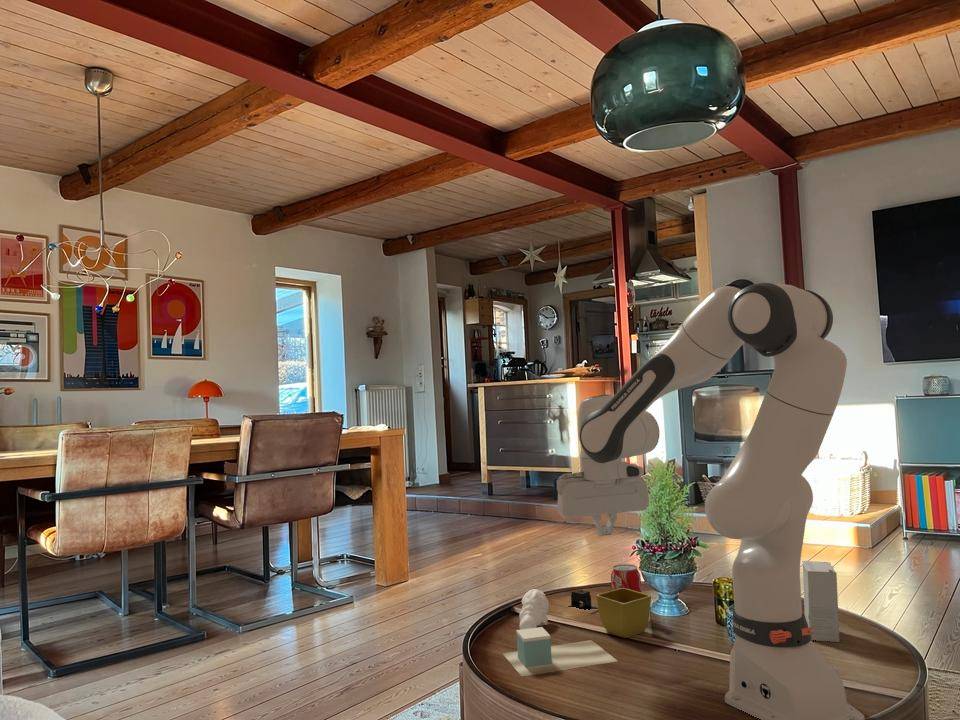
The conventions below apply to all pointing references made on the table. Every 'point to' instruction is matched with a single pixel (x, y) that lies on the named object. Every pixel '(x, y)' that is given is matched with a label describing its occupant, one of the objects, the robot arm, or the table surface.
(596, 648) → the birch board
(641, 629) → the flower pot
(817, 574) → the skincare box
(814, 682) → the robot arm
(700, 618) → the table surface
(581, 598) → the black upright block
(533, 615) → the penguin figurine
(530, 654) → the teal block
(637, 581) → the soda can
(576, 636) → the table surface
